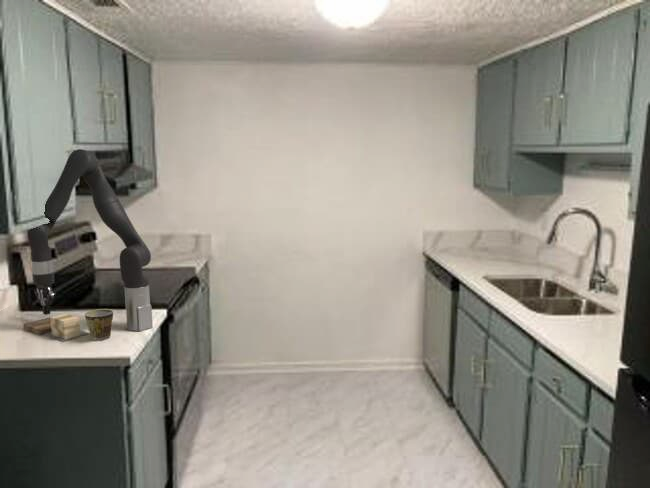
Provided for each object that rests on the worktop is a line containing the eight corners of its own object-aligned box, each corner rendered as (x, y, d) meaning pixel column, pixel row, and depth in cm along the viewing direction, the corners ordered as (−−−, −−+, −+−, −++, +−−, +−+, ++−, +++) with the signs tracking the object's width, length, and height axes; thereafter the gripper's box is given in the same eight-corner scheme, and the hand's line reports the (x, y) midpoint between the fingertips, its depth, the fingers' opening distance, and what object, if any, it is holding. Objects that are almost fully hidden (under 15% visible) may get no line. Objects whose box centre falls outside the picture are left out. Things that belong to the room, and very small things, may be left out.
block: (80, 335, 211) (78, 317, 210) (65, 339, 207) (63, 321, 206) (66, 330, 217) (65, 313, 216) (51, 334, 213) (50, 316, 212)
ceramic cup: (89, 334, 213) (87, 309, 211) (116, 332, 215) (114, 307, 213) (83, 346, 200) (80, 319, 199) (112, 343, 203) (110, 317, 201)
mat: (89, 333, 214) (89, 333, 214) (62, 341, 205) (62, 341, 205) (70, 327, 222) (70, 326, 222) (43, 334, 213) (43, 333, 213)
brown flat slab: (70, 327, 222) (70, 322, 222) (40, 335, 213) (40, 330, 212) (53, 321, 230) (52, 316, 230) (23, 328, 221) (23, 323, 221)
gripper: (60, 272, 216) (64, 314, 219) (43, 268, 224) (47, 309, 227) (41, 275, 210) (45, 319, 213) (24, 271, 218) (29, 313, 221)
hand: (46, 314), depth 220 cm, fingers closed
